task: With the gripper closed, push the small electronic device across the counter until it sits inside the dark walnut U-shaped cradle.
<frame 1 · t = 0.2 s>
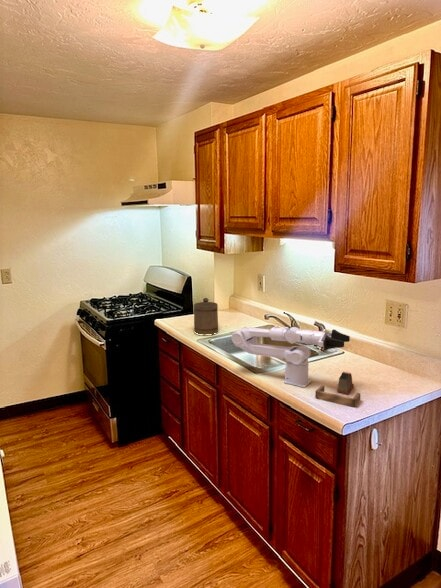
hand: (346, 341, 161), 21 cm above the worktop, tool horizontal, fingers open, 7 cm apart
wooden container: (206, 333, 255), on the worktop
cradle: (337, 399, 159), on the worktop
electronic device: (345, 390, 168), on the worktop
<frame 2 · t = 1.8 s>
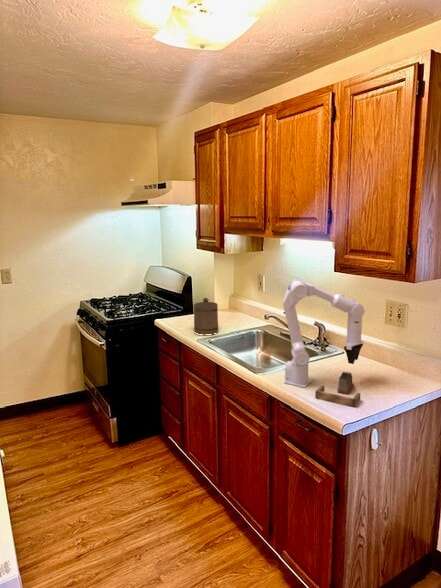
hand: (353, 361, 173), 9 cm above the worktop, tool pointing down, fingers open, 5 cm apart
nothing on the worktop moved.
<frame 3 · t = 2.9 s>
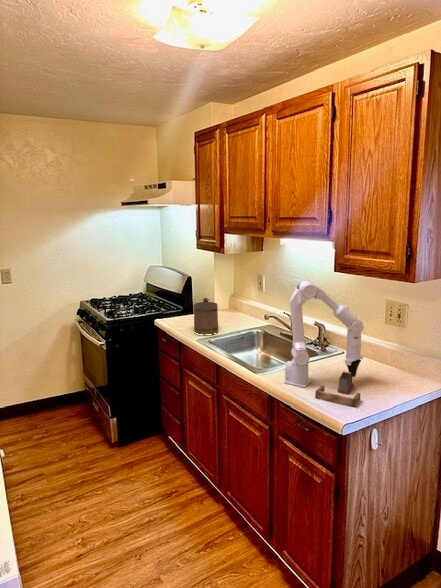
hand: (352, 376, 175), 3 cm above the worktop, tool pointing down, fingers closed
nothing on the worktop moved.
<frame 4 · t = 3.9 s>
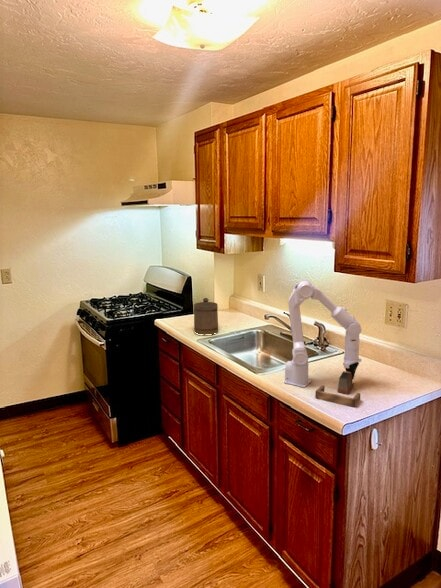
hand: (350, 379, 172), 2 cm above the worktop, tool pointing down, fingers closed
electronic device: (346, 389, 168), on the worktop, touching gripper
everything else where it was.
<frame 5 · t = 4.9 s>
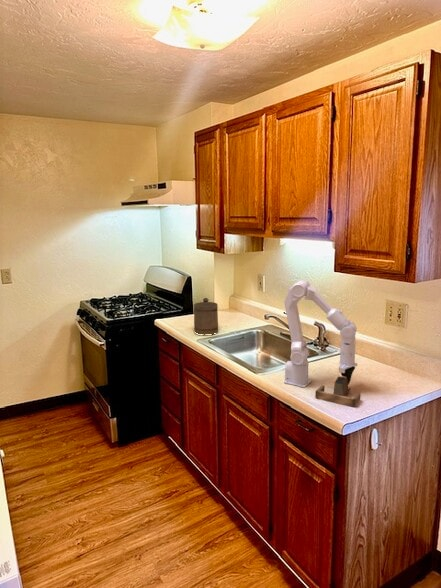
hand: (346, 383, 168), 2 cm above the worktop, tool pointing down, fingers closed
electronic device: (341, 395, 163), on the worktop, touching gripper
everything else where it was.
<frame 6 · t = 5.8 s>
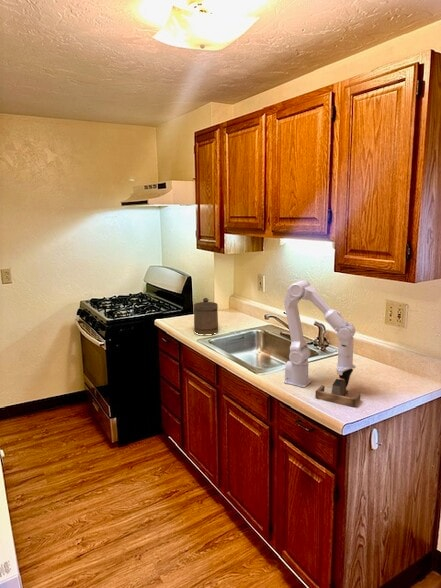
hand: (344, 386, 165), 2 cm above the worktop, tool pointing down, fingers closed
electronic device: (339, 397, 161), on the worktop, touching cradle, gripper
everything else where it was.
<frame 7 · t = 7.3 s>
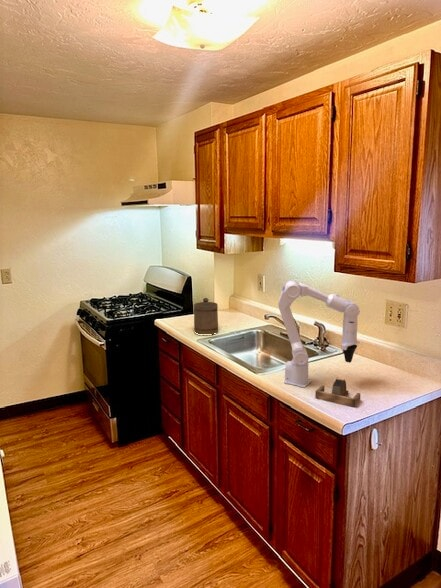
hand: (348, 361, 172), 10 cm above the worktop, tool pointing down, fingers closed
electronic device: (339, 397, 161), on the worktop
everything else where it was.
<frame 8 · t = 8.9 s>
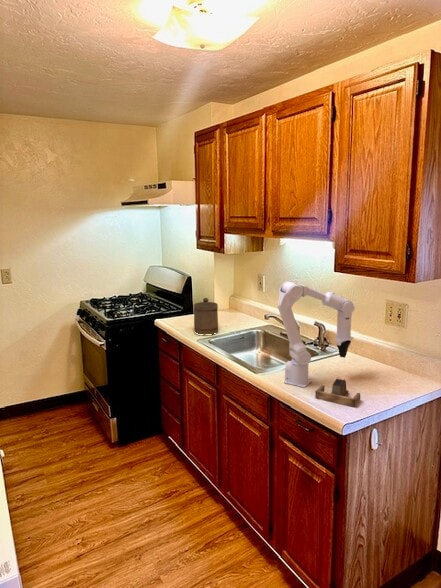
hand: (342, 356, 178), 10 cm above the worktop, tool pointing down, fingers closed
nothing on the worktop moved.
at the end: electronic device inside the target area (0.7 cm from its centre), on the worktop; electronic device moved 7.6 cm from its start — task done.
